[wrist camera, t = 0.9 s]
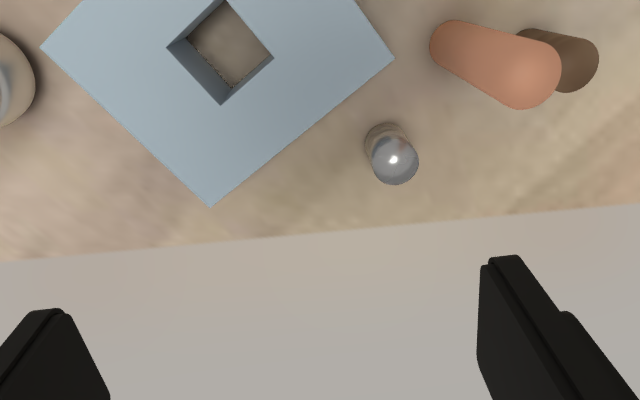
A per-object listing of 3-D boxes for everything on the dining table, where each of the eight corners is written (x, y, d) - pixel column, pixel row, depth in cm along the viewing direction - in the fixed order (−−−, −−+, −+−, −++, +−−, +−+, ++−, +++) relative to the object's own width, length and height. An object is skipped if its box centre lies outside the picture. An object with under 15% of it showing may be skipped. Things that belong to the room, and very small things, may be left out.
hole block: (246, -142, 27) (235, -166, 22) (382, 47, 32) (395, 58, 27) (77, 37, 31) (39, 47, 26) (221, 179, 36) (209, 208, 31)
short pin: (390, 114, 34) (401, 132, 30) (413, 145, 35) (427, 166, 31) (356, 140, 35) (364, 161, 31) (380, 169, 36) (390, 193, 32)
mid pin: (537, 18, 31) (585, 26, 26) (556, 55, 33) (607, 69, 27) (497, 48, 32) (536, 62, 27) (518, 83, 33) (559, 103, 28)
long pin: (459, 10, 31) (542, 25, 20) (482, 47, 32) (572, 81, 21) (420, 40, 32) (481, 71, 21) (444, 76, 33) (514, 122, 22)
